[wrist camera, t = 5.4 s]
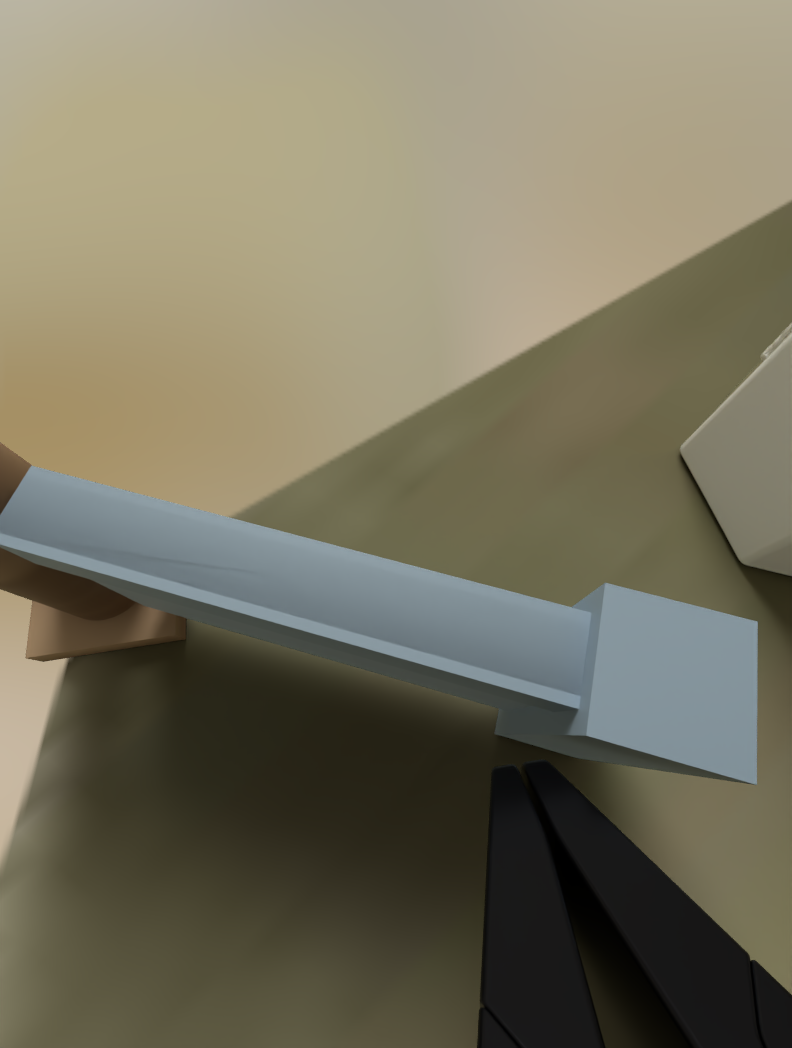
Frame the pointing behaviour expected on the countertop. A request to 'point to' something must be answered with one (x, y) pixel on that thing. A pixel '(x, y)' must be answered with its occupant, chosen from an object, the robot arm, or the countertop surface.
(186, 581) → the gate
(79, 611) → the hinge post
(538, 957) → the robot arm
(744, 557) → the jar
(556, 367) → the countertop surface
